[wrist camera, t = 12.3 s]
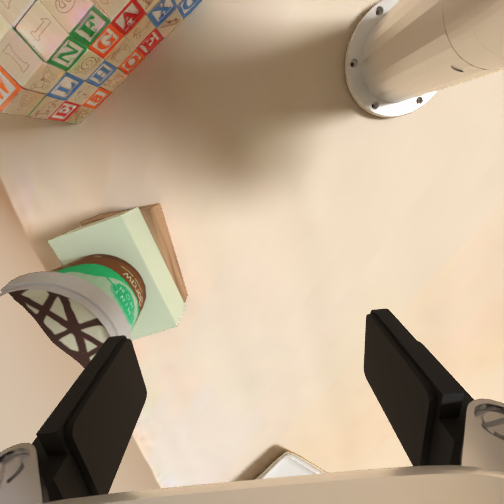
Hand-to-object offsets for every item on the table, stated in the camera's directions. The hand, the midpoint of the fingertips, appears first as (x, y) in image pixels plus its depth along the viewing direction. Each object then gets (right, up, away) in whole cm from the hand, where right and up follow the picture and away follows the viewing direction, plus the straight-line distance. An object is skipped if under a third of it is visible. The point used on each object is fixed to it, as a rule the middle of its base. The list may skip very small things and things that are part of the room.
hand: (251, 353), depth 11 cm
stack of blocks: (-16, +29, +22) cm, 39 cm away
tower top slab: (-16, +2, +26) cm, 31 cm away
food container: (-15, +1, +22) cm, 26 cm away
